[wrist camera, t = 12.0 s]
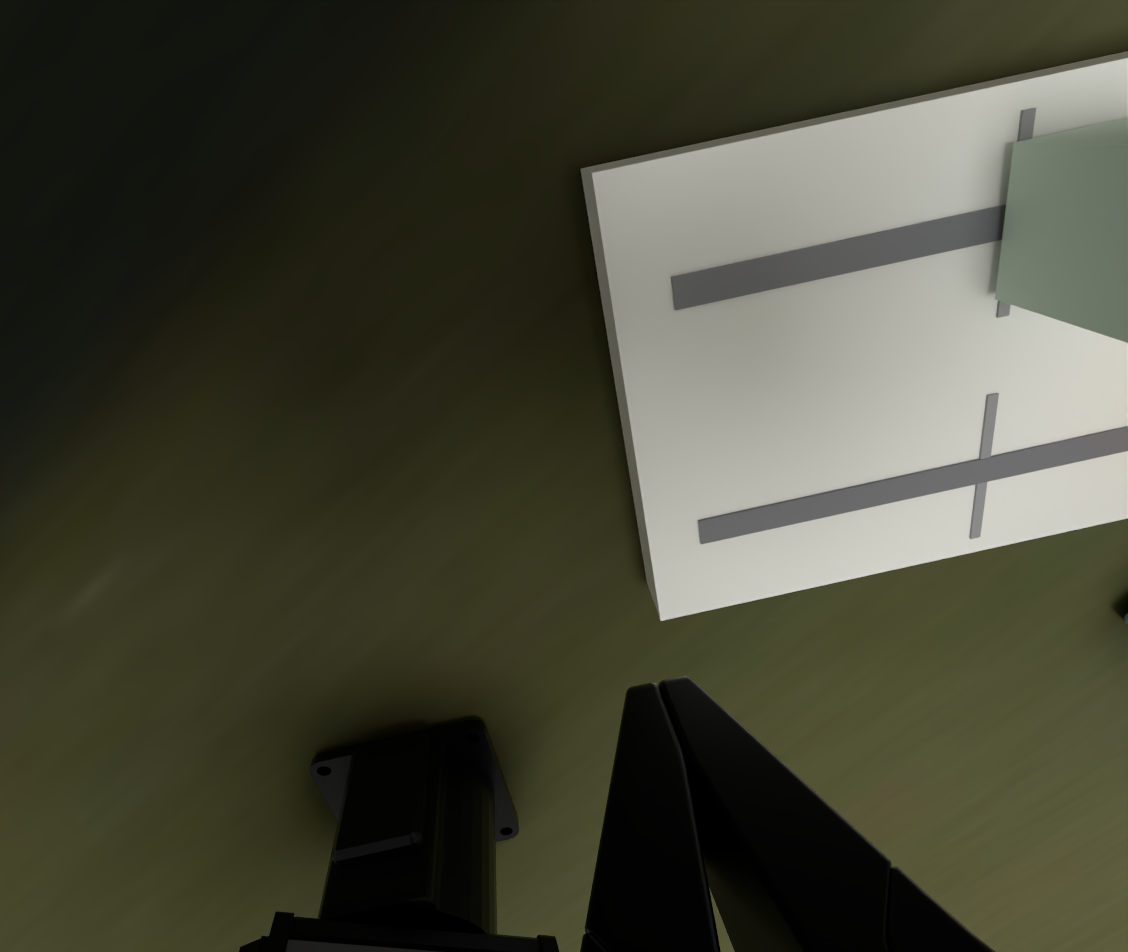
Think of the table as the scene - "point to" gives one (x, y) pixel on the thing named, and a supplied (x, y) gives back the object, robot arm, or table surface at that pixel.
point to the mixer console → (850, 346)
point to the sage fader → (1069, 228)
